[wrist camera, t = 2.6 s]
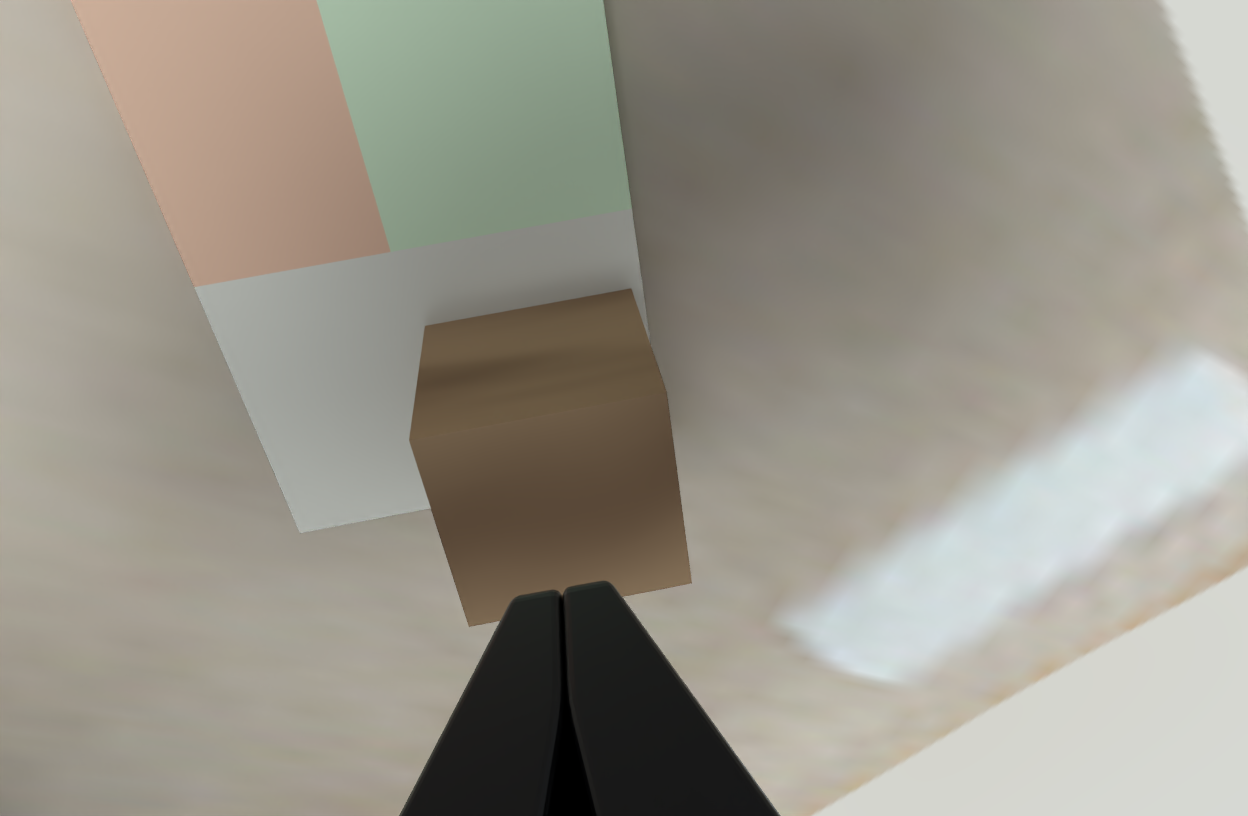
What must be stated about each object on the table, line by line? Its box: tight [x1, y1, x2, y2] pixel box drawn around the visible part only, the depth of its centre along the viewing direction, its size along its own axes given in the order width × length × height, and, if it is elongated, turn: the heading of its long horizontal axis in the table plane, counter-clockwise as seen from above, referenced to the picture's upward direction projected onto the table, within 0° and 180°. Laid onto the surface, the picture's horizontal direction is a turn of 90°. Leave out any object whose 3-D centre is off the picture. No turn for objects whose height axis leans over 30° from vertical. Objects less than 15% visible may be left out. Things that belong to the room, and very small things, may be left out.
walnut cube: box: [409, 288, 692, 627], centre depth 18 cm, size 4×4×4 cm
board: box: [71, 0, 651, 533], centre depth 18 cm, size 13×9×1 cm
